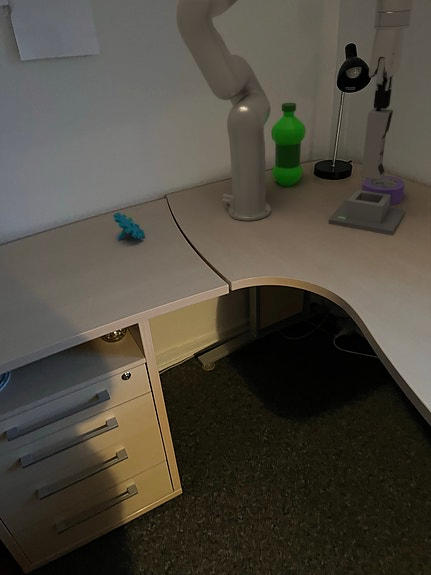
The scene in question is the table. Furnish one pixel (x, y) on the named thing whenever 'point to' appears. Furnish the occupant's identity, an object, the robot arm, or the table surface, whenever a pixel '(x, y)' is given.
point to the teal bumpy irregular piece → (128, 226)
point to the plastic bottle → (288, 146)
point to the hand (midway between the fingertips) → (381, 107)
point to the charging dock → (368, 213)
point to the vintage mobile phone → (375, 143)
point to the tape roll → (386, 187)
